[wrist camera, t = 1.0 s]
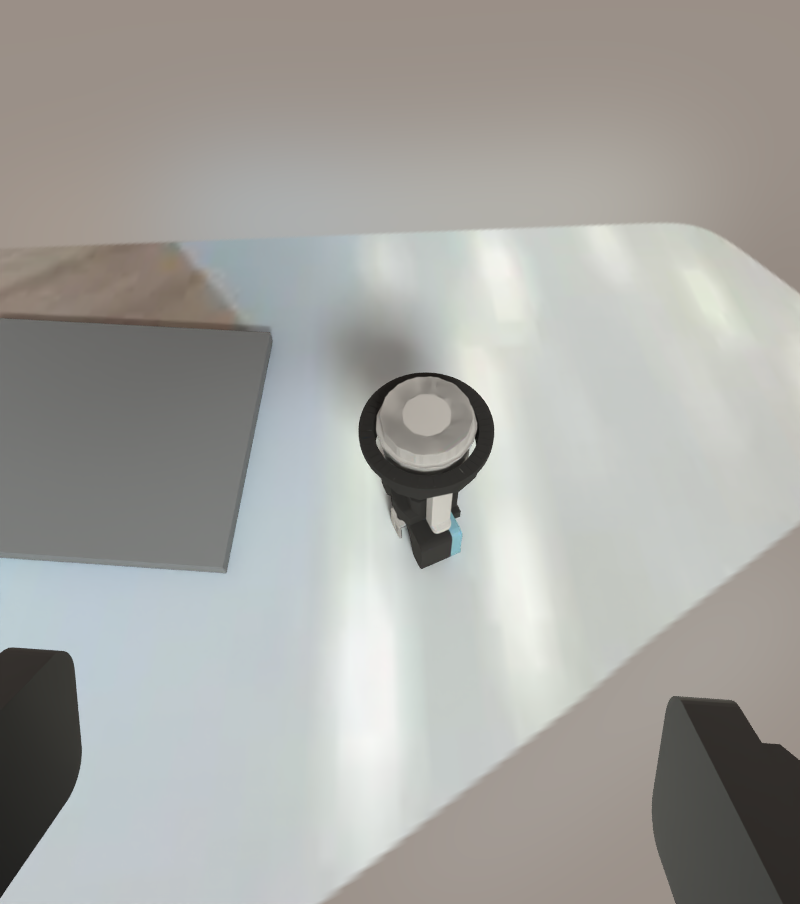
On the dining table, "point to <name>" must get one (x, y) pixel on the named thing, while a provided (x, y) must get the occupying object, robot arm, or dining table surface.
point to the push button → (426, 455)
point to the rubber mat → (125, 441)
